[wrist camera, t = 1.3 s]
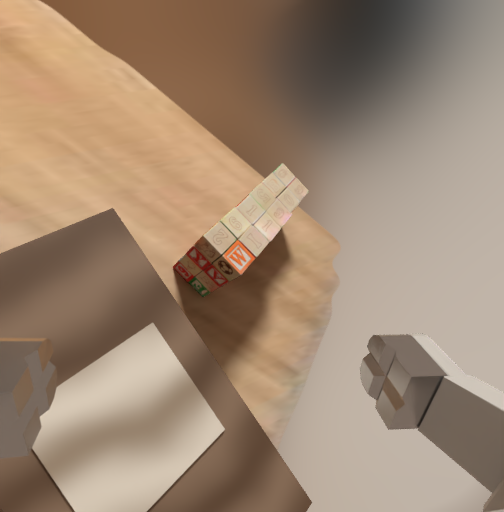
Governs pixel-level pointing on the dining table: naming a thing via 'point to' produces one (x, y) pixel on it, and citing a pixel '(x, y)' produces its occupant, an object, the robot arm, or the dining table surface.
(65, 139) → the dining table surface
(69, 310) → the cubby
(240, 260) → the stack of blocks
